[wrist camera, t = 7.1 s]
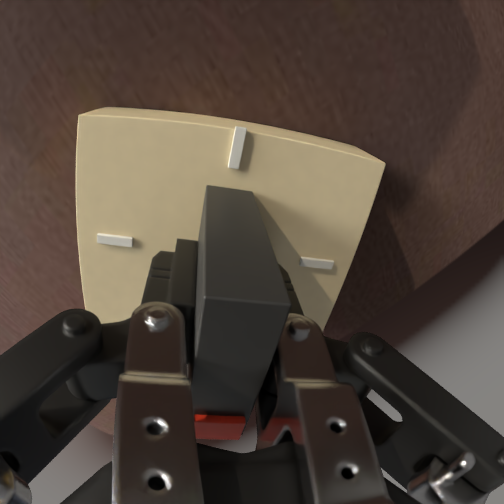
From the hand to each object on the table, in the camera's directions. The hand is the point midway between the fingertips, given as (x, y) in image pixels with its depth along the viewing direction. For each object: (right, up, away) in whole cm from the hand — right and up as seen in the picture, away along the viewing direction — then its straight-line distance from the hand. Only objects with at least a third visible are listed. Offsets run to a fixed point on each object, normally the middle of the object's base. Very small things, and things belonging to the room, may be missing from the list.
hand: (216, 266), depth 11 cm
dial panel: (0, +2, +3) cm, 4 cm away
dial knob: (0, 0, 0) cm, 1 cm away
